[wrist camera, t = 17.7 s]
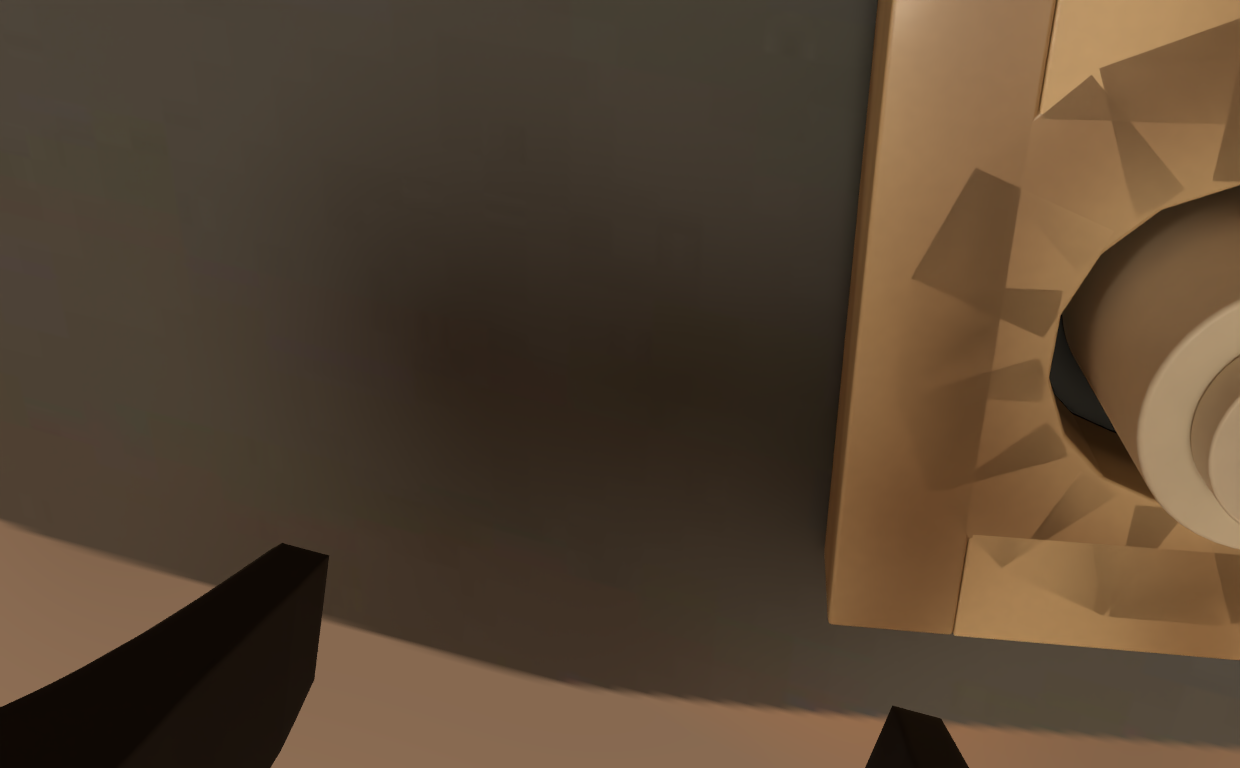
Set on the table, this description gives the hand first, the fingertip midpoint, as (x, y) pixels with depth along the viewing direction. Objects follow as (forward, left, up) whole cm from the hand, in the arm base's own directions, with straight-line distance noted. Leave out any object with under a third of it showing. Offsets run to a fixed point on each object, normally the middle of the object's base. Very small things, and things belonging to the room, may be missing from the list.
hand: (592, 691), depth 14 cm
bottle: (+4, -9, -9) cm, 13 cm away
